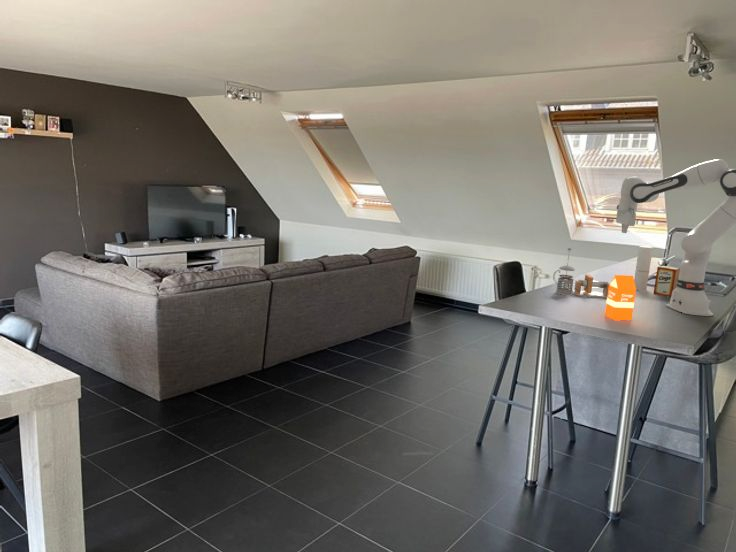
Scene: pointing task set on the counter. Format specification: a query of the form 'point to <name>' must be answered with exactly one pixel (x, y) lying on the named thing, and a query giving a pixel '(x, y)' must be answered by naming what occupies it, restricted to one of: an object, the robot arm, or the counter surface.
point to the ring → (590, 281)
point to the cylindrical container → (643, 267)
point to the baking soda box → (666, 280)
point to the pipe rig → (595, 285)
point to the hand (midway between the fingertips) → (624, 232)
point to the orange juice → (621, 298)
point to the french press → (565, 281)
